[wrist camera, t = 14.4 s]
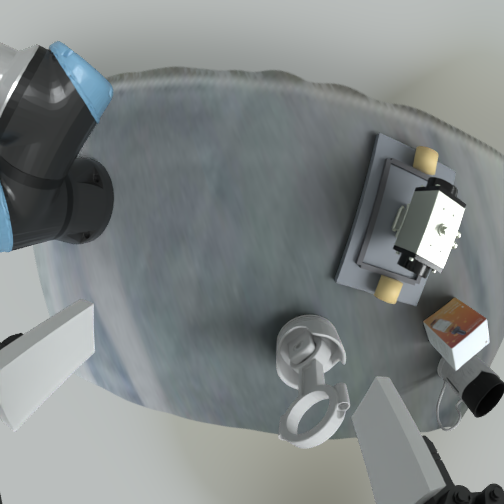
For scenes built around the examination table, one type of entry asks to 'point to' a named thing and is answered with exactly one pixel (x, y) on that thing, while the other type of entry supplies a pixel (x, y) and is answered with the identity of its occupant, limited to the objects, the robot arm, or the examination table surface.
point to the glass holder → (471, 386)
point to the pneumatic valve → (428, 227)
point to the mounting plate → (387, 221)
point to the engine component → (310, 377)
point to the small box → (457, 332)
